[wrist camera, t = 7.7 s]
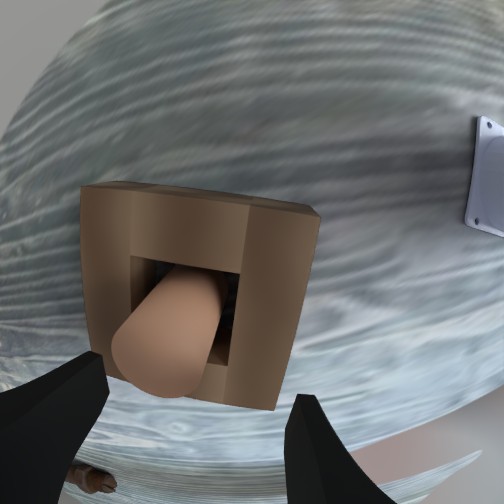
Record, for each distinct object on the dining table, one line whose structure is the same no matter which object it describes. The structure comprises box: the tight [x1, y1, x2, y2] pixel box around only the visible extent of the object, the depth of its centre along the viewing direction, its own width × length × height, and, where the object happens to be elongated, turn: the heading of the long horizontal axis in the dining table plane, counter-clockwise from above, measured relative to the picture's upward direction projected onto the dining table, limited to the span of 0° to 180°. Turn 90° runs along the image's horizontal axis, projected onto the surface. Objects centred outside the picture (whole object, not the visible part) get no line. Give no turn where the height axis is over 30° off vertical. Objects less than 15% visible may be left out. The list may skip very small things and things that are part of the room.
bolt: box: [65, 464, 117, 494], centre depth 27 cm, size 6×5×15 cm
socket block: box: [80, 181, 321, 411], centre depth 16 cm, size 12×12×4 cm
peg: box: [111, 264, 228, 398], centre depth 15 cm, size 4×4×8 cm
